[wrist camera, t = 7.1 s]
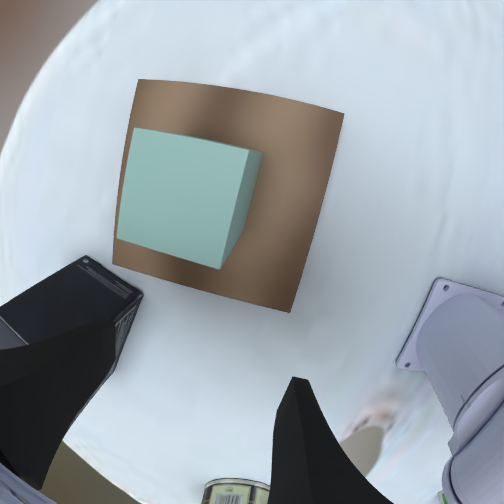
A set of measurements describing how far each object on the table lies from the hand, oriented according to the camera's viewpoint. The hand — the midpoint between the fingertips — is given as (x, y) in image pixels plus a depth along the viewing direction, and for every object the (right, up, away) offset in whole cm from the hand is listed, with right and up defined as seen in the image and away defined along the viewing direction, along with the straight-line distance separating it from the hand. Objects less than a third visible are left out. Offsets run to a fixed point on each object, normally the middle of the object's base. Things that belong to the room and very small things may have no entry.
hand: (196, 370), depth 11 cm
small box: (-11, -1, +13) cm, 17 cm away
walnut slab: (0, +9, +8) cm, 12 cm away
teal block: (0, +8, +6) cm, 10 cm away
